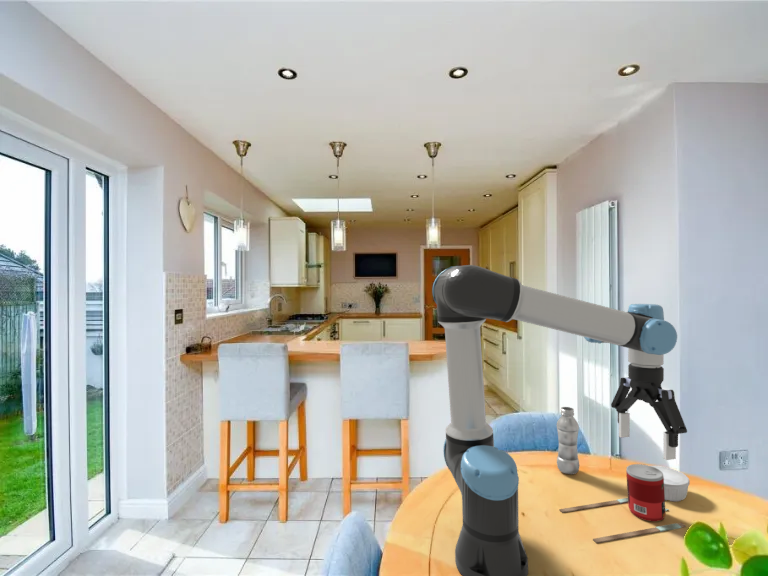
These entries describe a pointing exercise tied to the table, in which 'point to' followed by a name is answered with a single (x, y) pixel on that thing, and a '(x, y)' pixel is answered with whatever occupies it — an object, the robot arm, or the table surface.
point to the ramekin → (674, 483)
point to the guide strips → (628, 534)
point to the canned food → (646, 492)
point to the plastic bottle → (567, 442)
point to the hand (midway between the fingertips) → (645, 447)
